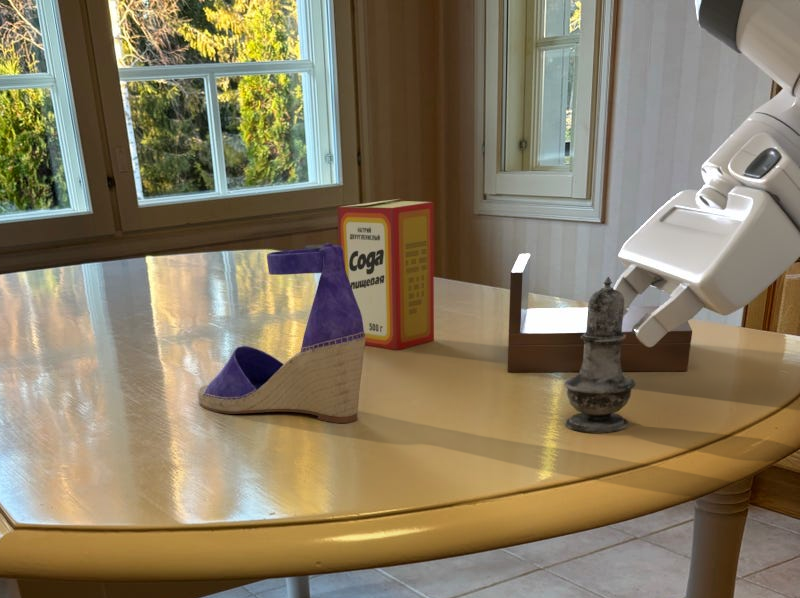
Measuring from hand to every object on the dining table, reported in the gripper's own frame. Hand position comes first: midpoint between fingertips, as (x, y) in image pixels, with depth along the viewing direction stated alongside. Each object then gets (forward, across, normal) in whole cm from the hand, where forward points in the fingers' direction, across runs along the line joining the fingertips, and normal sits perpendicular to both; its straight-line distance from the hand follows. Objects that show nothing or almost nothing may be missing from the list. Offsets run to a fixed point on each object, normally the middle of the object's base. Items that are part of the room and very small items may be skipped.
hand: (620, 329), depth 76 cm
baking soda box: (+16, -42, -5) cm, 45 cm away
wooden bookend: (+1, -26, +10) cm, 27 cm away
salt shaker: (+7, -1, +5) cm, 8 cm away
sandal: (+26, -13, -15) cm, 33 cm away
